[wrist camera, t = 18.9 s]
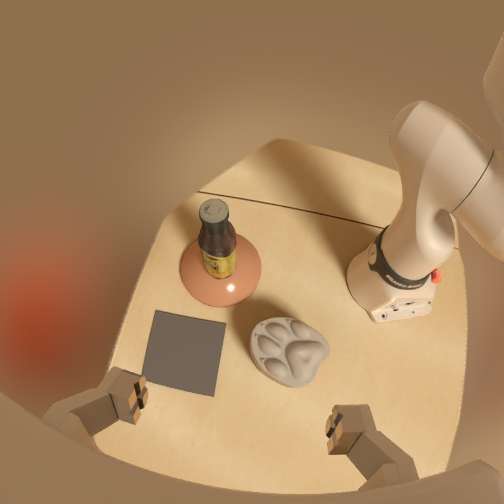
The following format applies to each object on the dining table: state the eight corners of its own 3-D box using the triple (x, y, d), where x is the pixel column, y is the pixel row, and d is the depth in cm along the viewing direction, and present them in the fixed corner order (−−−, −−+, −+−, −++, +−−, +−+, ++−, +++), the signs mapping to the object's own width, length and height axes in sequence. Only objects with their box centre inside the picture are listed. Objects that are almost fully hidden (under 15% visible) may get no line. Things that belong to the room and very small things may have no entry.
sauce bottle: (199, 263, 55) (179, 203, 37) (225, 247, 57) (217, 182, 39) (217, 288, 53) (204, 236, 35) (244, 271, 54) (244, 212, 37)
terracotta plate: (265, 239, 59) (265, 237, 58) (254, 313, 52) (255, 311, 51) (192, 230, 60) (191, 227, 59) (173, 299, 52) (172, 297, 51)
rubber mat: (226, 324, 51) (226, 323, 50) (213, 396, 44) (213, 396, 44) (156, 310, 51) (155, 310, 51) (141, 379, 45) (141, 379, 45)
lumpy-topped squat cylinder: (295, 394, 45) (306, 396, 37) (236, 357, 48) (234, 352, 40) (325, 347, 49) (339, 340, 41) (267, 312, 52) (272, 299, 44)
